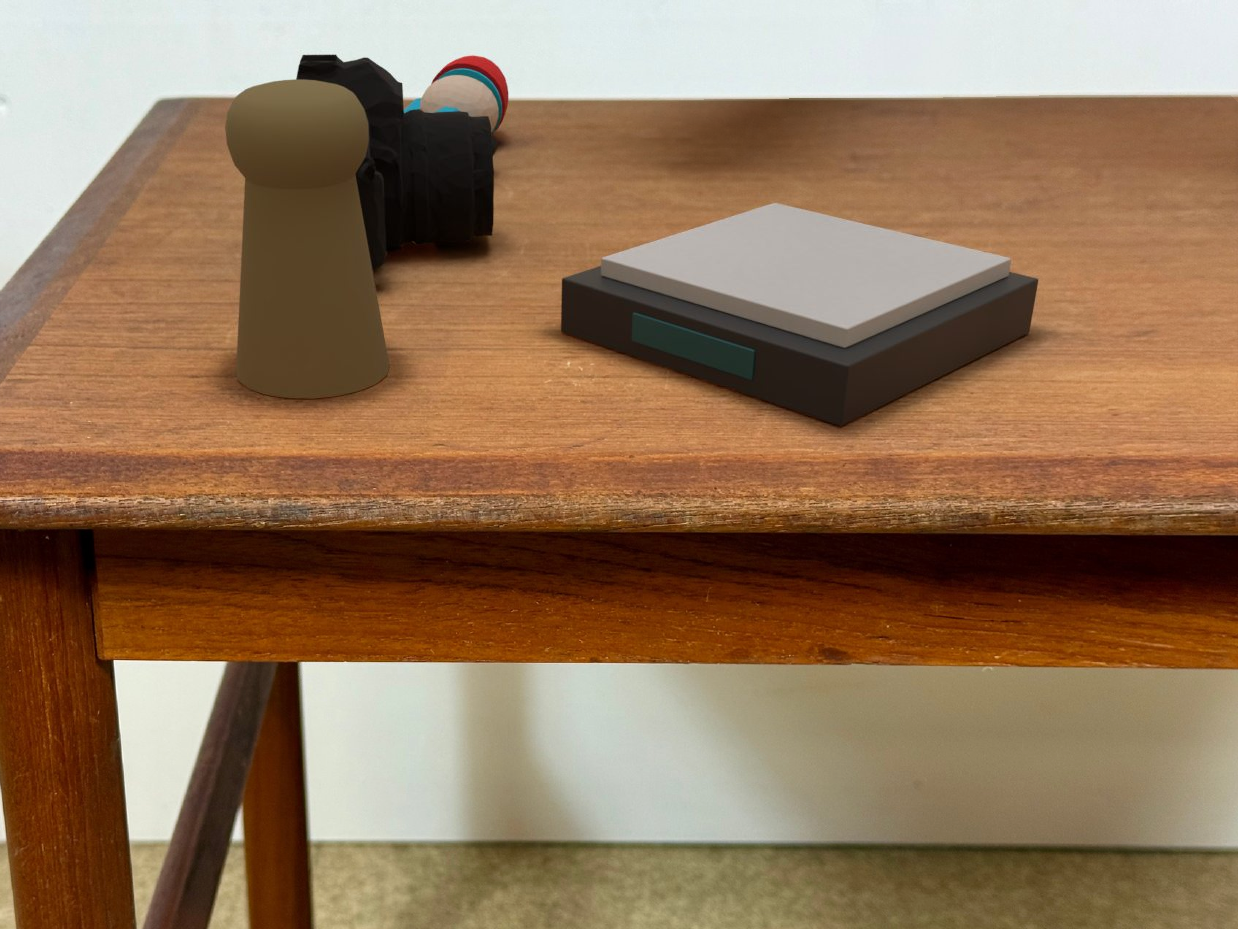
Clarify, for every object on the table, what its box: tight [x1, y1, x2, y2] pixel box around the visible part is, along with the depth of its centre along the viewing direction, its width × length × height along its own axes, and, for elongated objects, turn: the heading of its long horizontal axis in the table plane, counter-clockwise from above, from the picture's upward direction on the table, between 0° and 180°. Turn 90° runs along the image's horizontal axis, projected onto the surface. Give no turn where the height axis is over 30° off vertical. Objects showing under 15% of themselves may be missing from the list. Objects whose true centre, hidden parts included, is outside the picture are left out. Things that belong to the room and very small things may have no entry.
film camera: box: [295, 54, 495, 277], centre depth 71 cm, size 15×10×9 cm, turn 4°
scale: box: [560, 202, 1039, 427], centre depth 62 cm, size 14×14×3 cm
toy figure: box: [404, 54, 509, 156], centre depth 89 cm, size 8×5×15 cm
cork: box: [224, 79, 390, 400], centre depth 57 cm, size 6×6×11 cm
